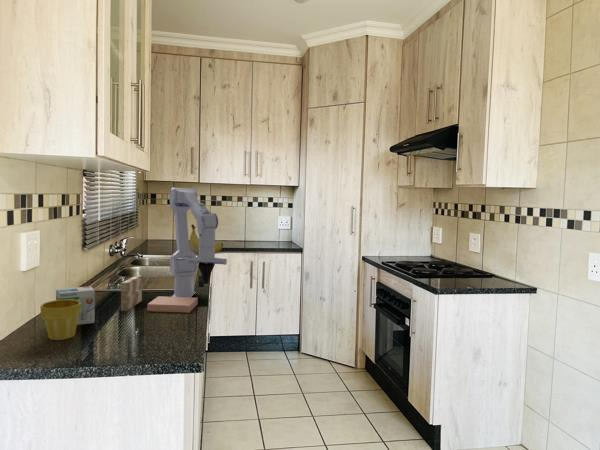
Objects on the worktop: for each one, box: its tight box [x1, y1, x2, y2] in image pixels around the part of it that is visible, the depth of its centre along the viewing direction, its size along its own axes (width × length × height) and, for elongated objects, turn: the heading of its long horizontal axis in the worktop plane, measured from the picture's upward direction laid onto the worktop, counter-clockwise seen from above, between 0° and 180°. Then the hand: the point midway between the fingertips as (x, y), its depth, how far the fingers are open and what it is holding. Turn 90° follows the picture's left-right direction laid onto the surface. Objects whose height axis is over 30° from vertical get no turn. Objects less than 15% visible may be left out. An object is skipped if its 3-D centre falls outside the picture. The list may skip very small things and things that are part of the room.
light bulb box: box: [55, 285, 96, 326], centre depth 143 cm, size 11×7×11 cm, turn 126°
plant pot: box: [40, 299, 81, 341], centre depth 129 cm, size 10×10×10 cm
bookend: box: [120, 274, 143, 312], centre depth 165 cm, size 15×2×10 cm, turn 0°
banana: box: [189, 224, 224, 254], centre depth 309 cm, size 23×6×20 cm, turn 105°
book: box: [146, 295, 199, 313], centre depth 165 cm, size 12×15×3 cm
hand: (206, 283), depth 164 cm, fingers closed
